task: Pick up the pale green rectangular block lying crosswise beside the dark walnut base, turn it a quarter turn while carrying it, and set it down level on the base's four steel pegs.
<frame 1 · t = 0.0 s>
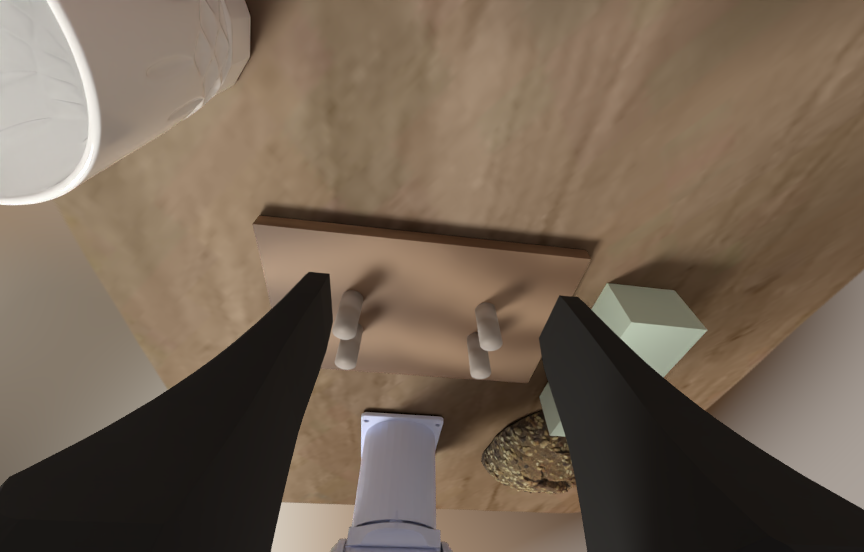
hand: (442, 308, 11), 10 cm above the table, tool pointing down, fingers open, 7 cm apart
bread roll: (543, 439, 39), on the table
peg base: (418, 309, 25), on the table
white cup: (170, 5, 14), on the table
pale green rectangular block: (595, 348, 29), on the table
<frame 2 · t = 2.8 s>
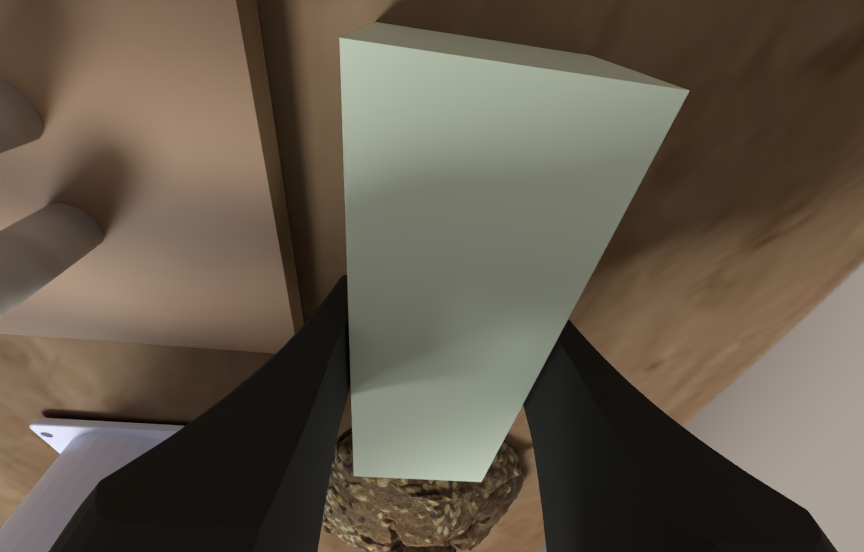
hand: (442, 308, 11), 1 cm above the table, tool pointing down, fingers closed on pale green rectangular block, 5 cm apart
bread roll: (423, 462, 22), on the table
pale green rectangular block: (441, 275, 12), on the table, touching gripper
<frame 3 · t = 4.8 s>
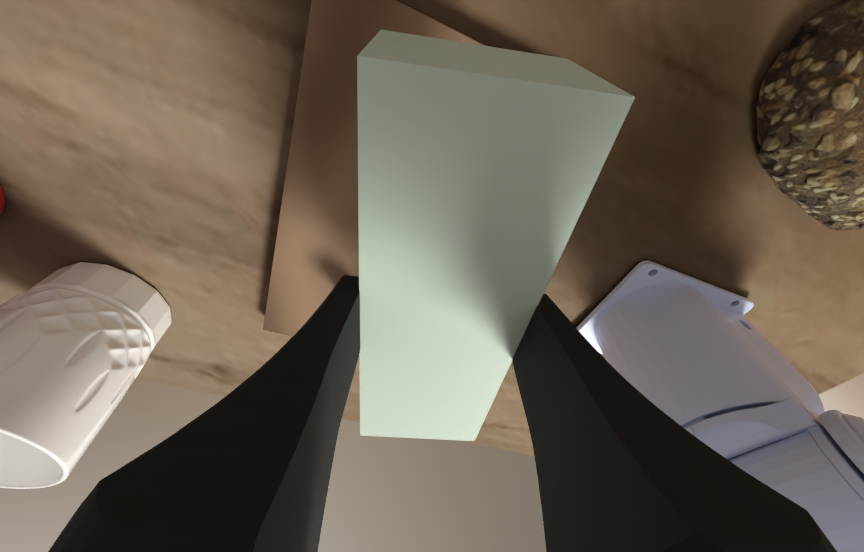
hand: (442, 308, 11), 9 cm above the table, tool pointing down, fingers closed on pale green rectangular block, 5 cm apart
peg base: (402, 235, 20), on the table
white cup: (119, 299, 23), on the table
pale green rectangular block: (438, 255, 14), point 6 cm above the table, touching gripper
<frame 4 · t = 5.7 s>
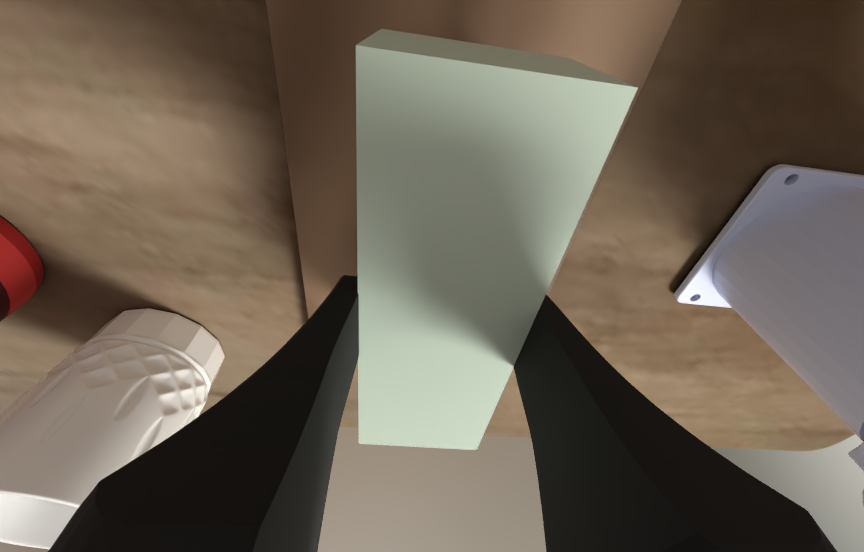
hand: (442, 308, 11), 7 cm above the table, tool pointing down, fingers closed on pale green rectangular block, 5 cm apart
peg base: (439, 206, 16), on the table
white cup: (172, 341, 23), on the table
pale green rectangular block: (439, 258, 13), point 4 cm above the table, touching gripper, peg base
when the fingers open (7 cm above the table, at t = 6.5 s): pale green rectangular block stays where it is, resting on peg base.
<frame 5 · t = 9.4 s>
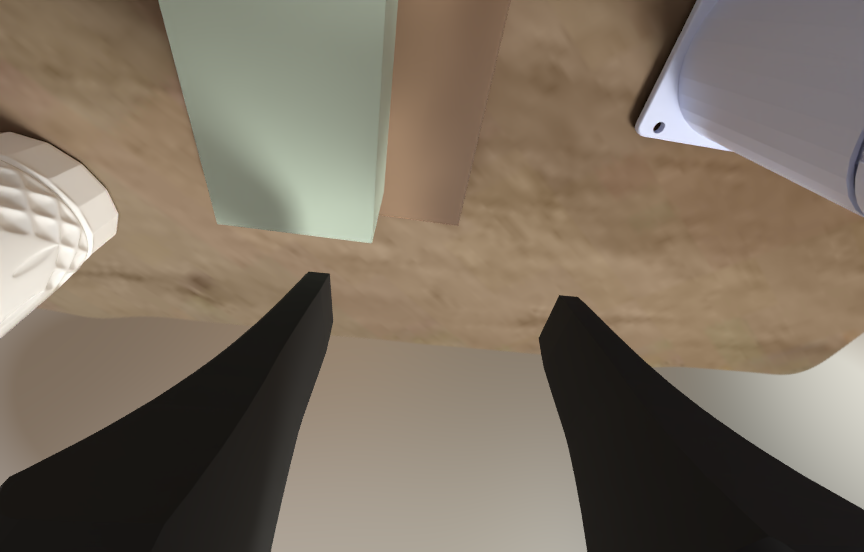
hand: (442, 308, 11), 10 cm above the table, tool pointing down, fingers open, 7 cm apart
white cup: (54, 192, 19), on the table
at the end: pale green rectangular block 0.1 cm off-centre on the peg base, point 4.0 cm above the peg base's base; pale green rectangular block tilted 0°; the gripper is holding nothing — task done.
